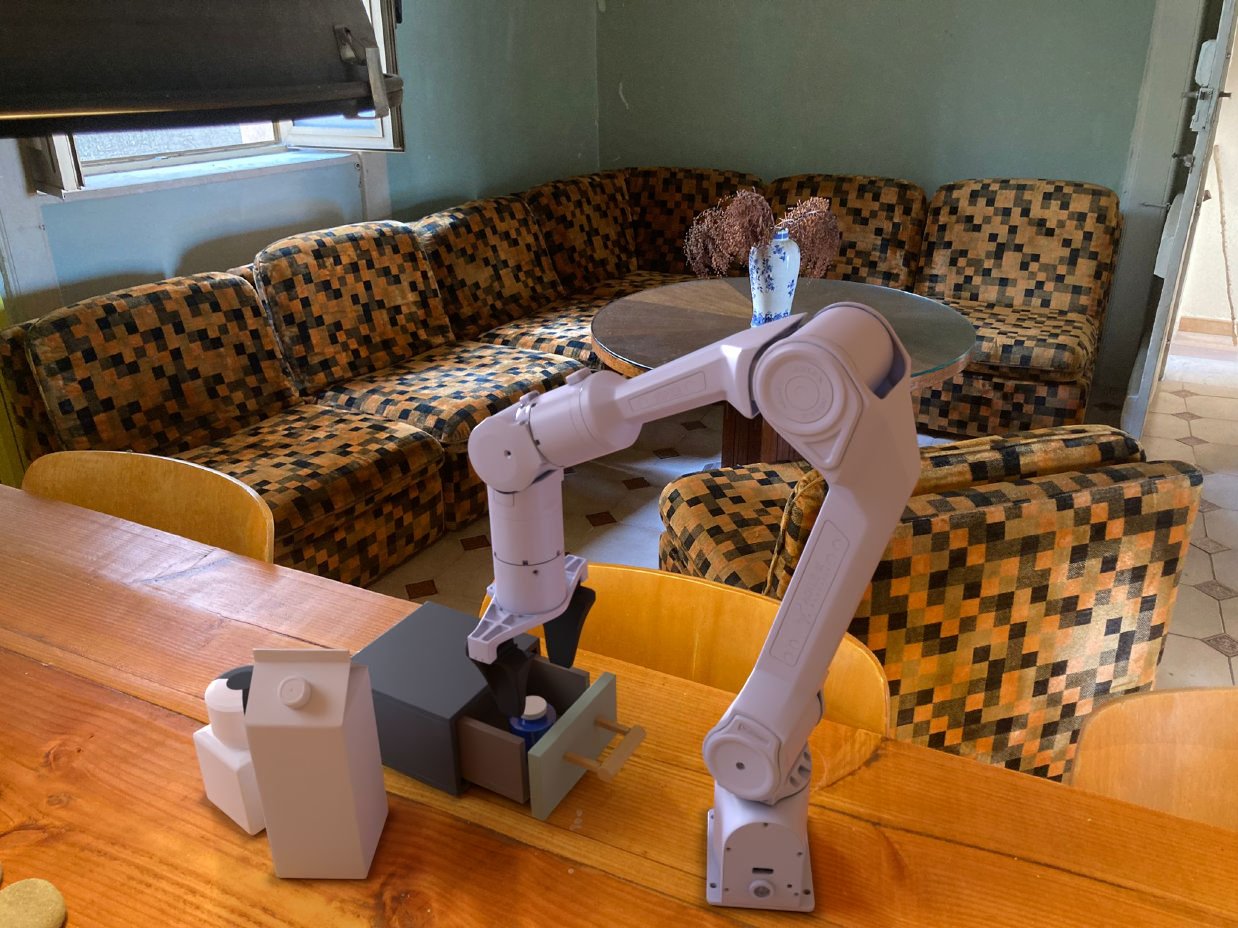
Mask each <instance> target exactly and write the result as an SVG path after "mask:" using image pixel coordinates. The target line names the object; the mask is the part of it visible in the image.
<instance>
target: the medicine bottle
mask: <svg viewBox="0 0 1238 928" xmlns="http://www.w3.org/2000/svg"><path fill="white" fill-rule="evenodd" d="M253 668H254V664H246V665H241V666H237V667H234V668H232V669H229V670H227V671H224V672H223V673H221V674H220V675H218V676H216V678H214V679H213V680H212V682H210V684H209V685H208V686H207V688H206V690H205V693H204V703H205V707H206V711H207V715H208V719H209V724H207V725H205V726H204V727H202V728H200V729H199V730H197V731H195V732H193V734H192V740H193V744H194V749H195V752H196V758H197V761H198V766H199V769H200V773H201V777H202V781H203V786H204V789H205V794H206V797H207V799H208V800H209V801H210V802H211V803H212V804H213V805H215V806H216V807H217V808H218V809H219V810H221V811H222V812H223V813H224V814H225V815H226V816H227V817H228V818H230V819H231V820H232V821H233V822H234V823H236V824H237V825H238V826H239V827H240V828H241V829H243V830H244V831H245V832H246V833H247V834H248V835H249V836H255V835H257V834H258V833H260V832H261V831H262V830H265V829H266V826H265V821H264V816H263V812H262V807H261V802H260V798H259V793H258V788H257V783H256V779H255V774H254V769H253V765H252V760H251V755H250V751H249V746H248V741H247V736H246V731H245V726H244V719H245V713H246V708H247V702H248V696H249V691H250V685H251V679H252V674H253Z"/></svg>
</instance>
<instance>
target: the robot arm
mask: <svg viewBox="0 0 1238 928" xmlns="http://www.w3.org/2000/svg"><path fill="white" fill-rule="evenodd" d="M808 313H809V312H807V311H806V312H802V313H801V312H800V313H797V314H792V315H791V314H790V315H788V316H785V317H781V318H778V319H775V320H772V321H769V322H767V323H762V324H760V325H757V326H754V327H751V328H750V327H749V328H747V329H744V330H742V331H739V332H736V333H735V334H732V335H730V336H727V337H725V338H723V339H720V340H718V341H715V342H713V343H711V344H708V345H706V346H704V347H702V348H699V349H697V350H695V351H693V352H690V353H688V354H685V355H682V356H680V357H678V358H676V359H674V360H672V361H669V362H667V363H665V364H662V365H660V366H658V367H655V368H652V369H651V370H648V371H646V372H643V373H641V374H639V375H637V376H635V377H631V378H630V379H627V378H625V377H624V376H622V375H620V374H619V373H617V372H614V371H612V370H605V369H604V370H603V369H602V370H599V371H596V372H594V373H592V371H591V368H590V367H583V368H581V369H579V370H576V371H575V372H573V373H570V374H569V375H567V376H566V377H565V381H566V384H564V385H562V386H559V387H557V388H554V389H551V390H549V391H547V392H544V393H542V394H541V393H540V392H539V390H536V389H535V390H532V391H530V392H528V393H526V394H524V395H522V396H520V398H519V401H517V402H515V403H514V404H512V405H510V406H508V407H506V408H505V409H502V410H501V411H498V412H497V413H496V414H493V415H492V416H487V417H486V418H485V419H484V420H482V421H481V422H480V423H479V424H478V425H476V426H475V427H474V428H473V430H472V431H471V433H470V434H469V438H468V441H467V453H468V457H469V461H470V463H471V466H472V468H473V470H474V472H475V473H476V475H477V476H478V477H479V478H480V479H481V480H482V481H483V482H484V483H485V484H486V487H487V488H486V489H487V499H488V514H489V524H490V525H489V526H490V536H491V548H492V561H493V575H494V581H493V582H492V583H491V584H490V585H488V586H487V588H486V595H487V597H489V598H491V600H490V602H489V605H488V607H487V608H486V610H485V612H484V614H483V616H482V617H481V618H482V619H481V621H480V623H479V625H478V626H477V628H476V629H475V630H474V632H473V633H471V634H470V635H469V636H468V640H467V641H466V642H465V653H466V656H467V657H468V658H469V659H470V660H471V661H472V662H473V663H474V664H475V665H476V667H477V668H478V669H479V670H480V672H481V673H482V675H483V676H484V678H485V679H486V681H487V683H488V685H489V687H490V689H491V691H492V694H493V696H494V698H495V701H496V703H497V706H498V708H499V711H500V712H501V713H504V714H507V715H509V716H512V717H515V718H517V719H518V718H520V717H521V716H522V715H523V714H524V711H525V706H526V683H527V676H528V672H529V669H530V666H531V663H532V661H533V659H534V656H535V655H536V654H534V653H531V652H528V651H525V650H522V649H519V648H518V644H517V643H514V638H513V637H515V636H517V635H519V634H521V633H524V632H525V633H527V632H528V631H530V630H533V629H534V628H536V627H538V626H541V625H542V628H543V635H544V642H545V649H546V654H547V658H549V661H550V663H553V664H556V665H559V666H562V667H565V668H568V669H570V668H571V667H572V666H573V667H574V663H575V659H576V655H577V651H578V646H579V642H580V638H581V636H582V635H581V634H582V631H583V627H584V625H585V622H586V620H587V617H588V615H589V613H590V611H591V609H592V607H593V606H594V604H595V603H596V601H597V593H596V591H595V590H594V589H593V588H590V587H588V586H585V585H581V584H582V583H584V582H585V581H587V580H588V579H589V561H588V559H587V558H585V557H581V556H577V555H573V554H567V555H566V554H565V536H564V517H563V516H564V515H563V514H564V513H563V494H562V493H563V491H562V481H564V480H565V476H564V474H565V473H564V469H567V468H570V467H572V466H576V465H578V464H581V463H584V462H588V461H591V460H594V459H597V458H600V457H603V456H606V455H609V454H612V453H615V452H618V451H621V450H624V449H627V448H630V447H631V446H632V445H634V443H635V442H636V441H637V439H638V438H639V435H640V434H641V433H640V432H641V430H642V427H643V424H645V423H649V422H653V421H655V420H656V421H657V420H659V419H663V418H666V417H670V416H673V415H676V414H681V413H683V412H686V411H690V410H693V409H696V408H700V407H704V406H707V405H710V404H713V403H717V402H721V401H727V402H728V403H729V404H731V405H732V406H733V407H734V408H735V409H736V410H737V411H738V412H739V413H740V414H741V415H743V417H745V418H747V419H751V420H752V419H754V418H755V417H756V416H757V415H758V414H759V413H760V414H761V415H762V417H763V418H764V420H765V421H766V422H767V423H768V424H769V425H770V426H771V428H772V429H773V430H774V431H775V432H776V433H778V435H780V436H781V437H782V438H783V439H784V440H785V441H786V442H787V443H788V444H789V445H790V446H791V447H792V448H793V449H794V450H795V451H796V452H797V453H799V455H801V456H802V458H803V459H805V460H806V461H807V462H808V463H809V464H810V465H811V466H812V467H813V468H814V469H815V470H816V471H818V472H819V473H820V475H821V476H822V477H823V478H824V480H825V482H826V483H827V485H828V491H827V494H826V496H825V499H824V500H823V503H822V506H821V507H820V511H819V513H818V516H817V517H816V520H815V522H814V525H813V527H812V530H811V532H810V535H809V536H808V539H807V542H806V544H805V546H804V549H803V551H802V553H801V556H800V557H799V561H798V563H797V565H796V568H795V570H794V573H793V575H792V578H791V580H790V582H789V585H788V587H787V589H786V591H785V594H784V595H783V598H782V601H781V603H780V606H779V608H778V611H777V613H776V615H775V617H774V620H773V623H772V625H771V627H770V629H769V632H768V634H767V637H766V639H765V641H764V644H763V647H762V648H761V651H760V653H759V656H758V658H757V661H756V663H755V665H754V667H753V669H752V671H751V673H750V675H749V677H748V678H747V680H746V681H745V683H744V686H743V687H742V688H741V690H740V692H739V693H738V695H737V696H736V697H735V699H734V700H733V701H732V703H731V704H730V705H729V707H728V708H727V709H726V711H725V713H724V714H723V715H722V717H721V718H720V719H719V721H718V722H717V724H716V725H715V726H713V727H712V728H710V729H709V730H708V732H707V734H706V735H705V737H704V739H703V742H702V748H701V750H702V758H703V761H704V764H705V766H706V768H707V771H708V772H709V773H710V775H711V777H712V778H713V779H714V793H713V794H714V795H713V808H710V809H709V810H708V812H707V842H706V843H707V847H706V849H707V851H706V852H707V853H706V902H707V904H709V905H711V906H717V907H718V906H720V907H733V908H748V909H763V910H766V909H767V910H776V911H777V910H778V911H792V912H805V913H811V912H813V911H815V910H814V909H815V907H816V906H815V905H816V902H815V894H814V893H815V891H814V884H813V873H812V866H811V855H810V846H809V836H808V819H809V817H808V816H809V806H810V795H811V784H812V774H813V773H812V771H813V762H812V753H811V750H810V745H809V738H810V736H811V734H812V733H813V731H814V729H815V728H816V727H817V726H818V725H819V724H820V722H821V721H822V719H823V717H824V715H825V711H826V700H825V694H824V691H825V689H824V688H825V685H826V684H825V683H826V681H827V679H828V676H829V674H830V666H831V665H832V662H833V661H834V658H835V656H836V654H837V652H838V649H840V646H841V644H842V641H843V639H844V637H845V635H846V633H847V631H848V630H849V627H850V624H851V622H852V620H853V618H854V616H855V614H856V612H857V610H858V608H859V606H860V603H861V602H862V600H863V598H864V595H865V593H866V591H867V589H868V587H869V585H870V583H871V581H872V578H873V577H874V574H875V572H876V570H877V568H878V566H879V563H880V562H881V560H882V557H883V555H884V554H885V552H886V550H887V547H888V545H889V543H890V540H891V538H892V536H893V534H894V532H895V530H896V528H897V526H898V524H899V522H900V521H901V518H902V515H903V513H904V511H905V509H906V507H907V505H908V503H909V500H910V498H911V496H912V495H913V492H914V490H915V488H916V486H917V484H918V481H919V479H920V474H921V471H922V459H921V452H920V446H919V445H920V444H919V439H918V433H917V427H916V420H915V414H914V407H913V399H912V395H911V373H912V358H911V356H910V354H909V353H908V351H907V349H906V348H905V346H904V345H903V343H902V341H901V340H900V338H899V337H898V335H897V333H896V332H895V330H894V328H893V327H892V325H891V324H890V322H889V321H888V320H887V318H885V317H884V315H882V314H881V313H880V312H879V311H878V310H876V309H874V308H873V307H871V306H869V305H866V304H864V303H861V302H855V301H840V302H835V303H832V304H829V305H826V306H825V307H823V308H821V309H820V310H819V311H818V312H817V313H815V314H814V315H813V316H812V317H810V320H808V322H807V323H805V324H804V325H803V326H801V327H800V325H801V324H802V322H803V320H804V319H805V318H806V317H807V315H809V314H808ZM799 327H800V328H799Z"/></svg>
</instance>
